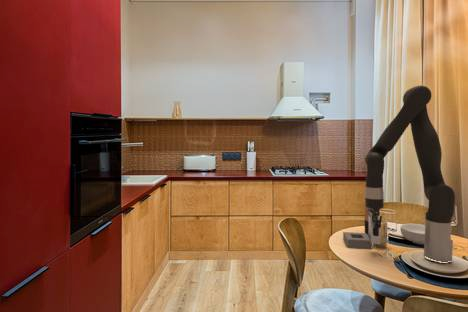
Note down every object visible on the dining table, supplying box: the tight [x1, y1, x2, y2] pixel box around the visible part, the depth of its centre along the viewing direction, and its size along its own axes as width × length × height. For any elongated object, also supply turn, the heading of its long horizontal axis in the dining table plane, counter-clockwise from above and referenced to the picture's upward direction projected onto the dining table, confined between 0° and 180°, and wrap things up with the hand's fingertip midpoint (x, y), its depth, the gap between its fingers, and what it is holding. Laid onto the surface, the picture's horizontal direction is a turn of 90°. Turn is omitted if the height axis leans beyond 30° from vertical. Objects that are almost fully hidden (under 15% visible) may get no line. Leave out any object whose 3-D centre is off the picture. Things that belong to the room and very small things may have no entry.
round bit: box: [372, 220, 388, 250], centre depth 144 cm, size 6×6×12 cm
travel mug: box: [364, 205, 382, 236], centre depth 158 cm, size 8×8×20 cm
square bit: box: [368, 215, 381, 245], centre depth 136 cm, size 4×4×12 cm
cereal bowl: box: [400, 223, 425, 246], centre depth 150 cm, size 17×17×7 cm
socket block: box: [342, 231, 373, 250], centre depth 148 cm, size 11×11×4 cm
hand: (374, 234), depth 136 cm, fingers closed on square bit, 4 cm apart
